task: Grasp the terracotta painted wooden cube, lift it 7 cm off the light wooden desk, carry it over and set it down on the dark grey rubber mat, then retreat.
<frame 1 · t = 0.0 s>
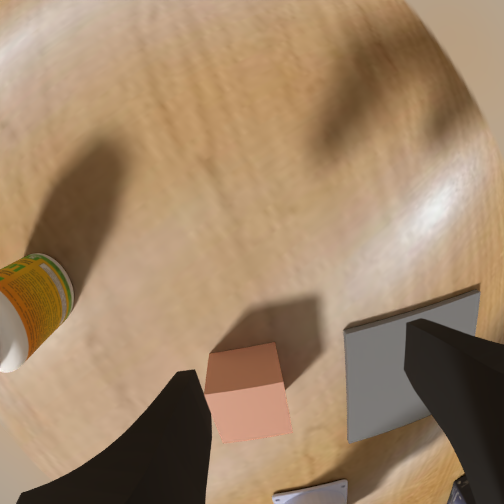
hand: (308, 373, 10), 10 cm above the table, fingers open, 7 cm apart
small box: (464, 484, 31), on the table
supplement bottle: (46, 287, 19), on the table
cube: (248, 373, 21), on the table
mat: (413, 372, 22), on the table
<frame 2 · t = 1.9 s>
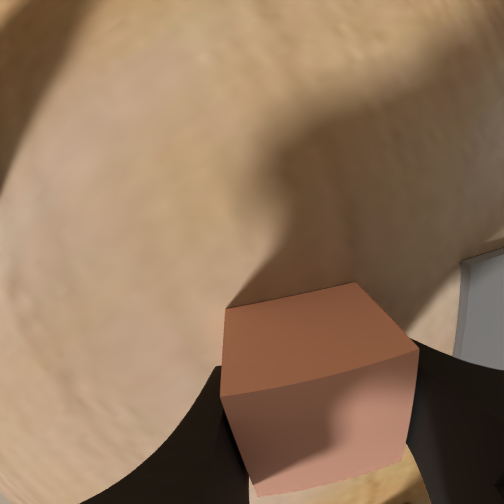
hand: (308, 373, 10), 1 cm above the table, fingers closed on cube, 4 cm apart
cube: (300, 351, 11), on the table, touching gripper
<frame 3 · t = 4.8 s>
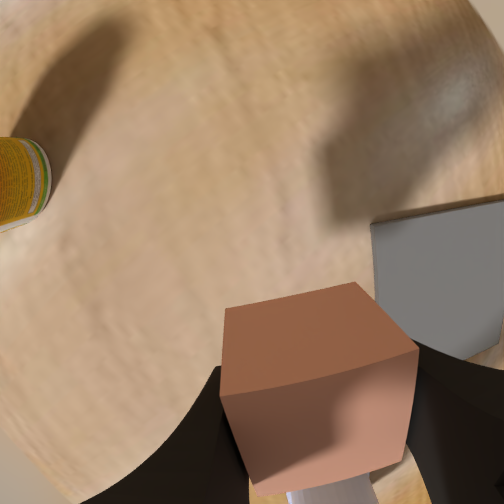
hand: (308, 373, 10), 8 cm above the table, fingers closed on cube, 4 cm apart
supplement bottle: (23, 180, 16), on the table
cube: (300, 350, 11), point 7 cm above the table, touching gripper
mat: (450, 295, 19), on the table
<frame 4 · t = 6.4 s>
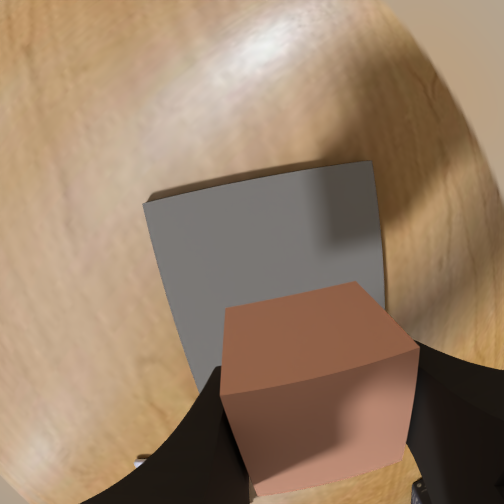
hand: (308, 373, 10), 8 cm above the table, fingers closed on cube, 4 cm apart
small box: (430, 487, 26), on the table
cube: (300, 350, 11), point 7 cm above the table, touching gripper
mat: (278, 287, 17), on the table
when the fingers open (3 cm above the table, at t = 7.9 s): cube stays where it is, resting on mat.
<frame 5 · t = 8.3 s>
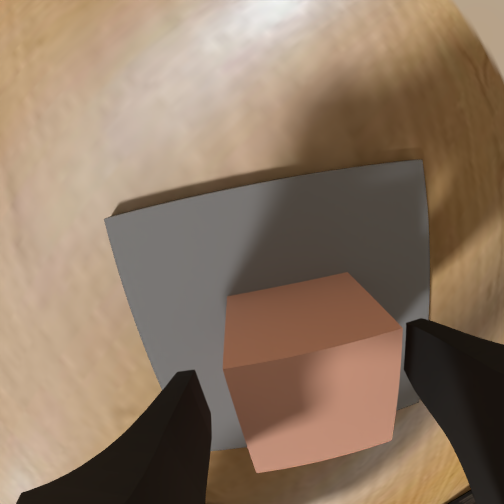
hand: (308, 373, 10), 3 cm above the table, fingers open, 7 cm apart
cube: (296, 337, 12), point 1 cm above the table, touching mat
mat: (293, 330, 13), on the table
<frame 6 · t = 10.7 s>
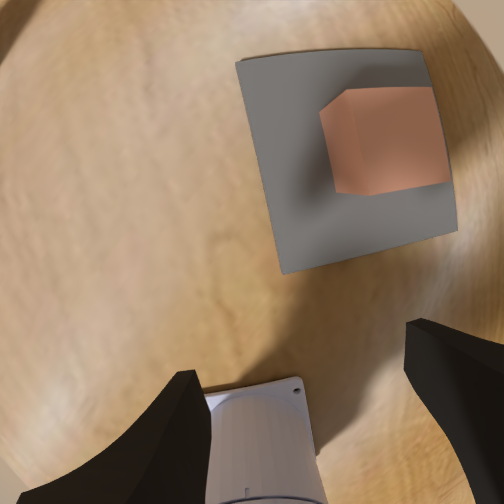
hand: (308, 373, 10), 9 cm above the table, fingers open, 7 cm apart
cube: (365, 146, 16), point 1 cm above the table, touching mat
mat: (361, 148, 17), on the table
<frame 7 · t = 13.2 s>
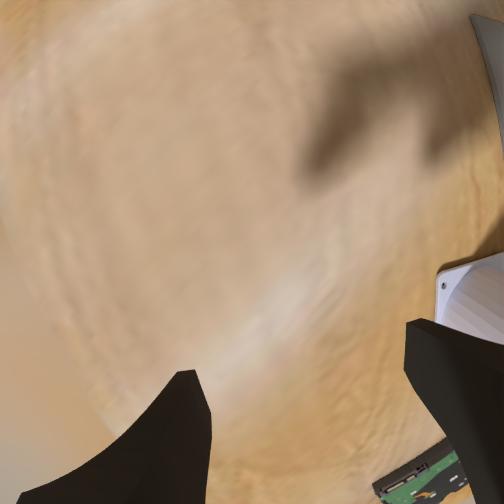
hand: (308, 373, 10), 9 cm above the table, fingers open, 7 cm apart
disk drive: (422, 476, 27), on the table
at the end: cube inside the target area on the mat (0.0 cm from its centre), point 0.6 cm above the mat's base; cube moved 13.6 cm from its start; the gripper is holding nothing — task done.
